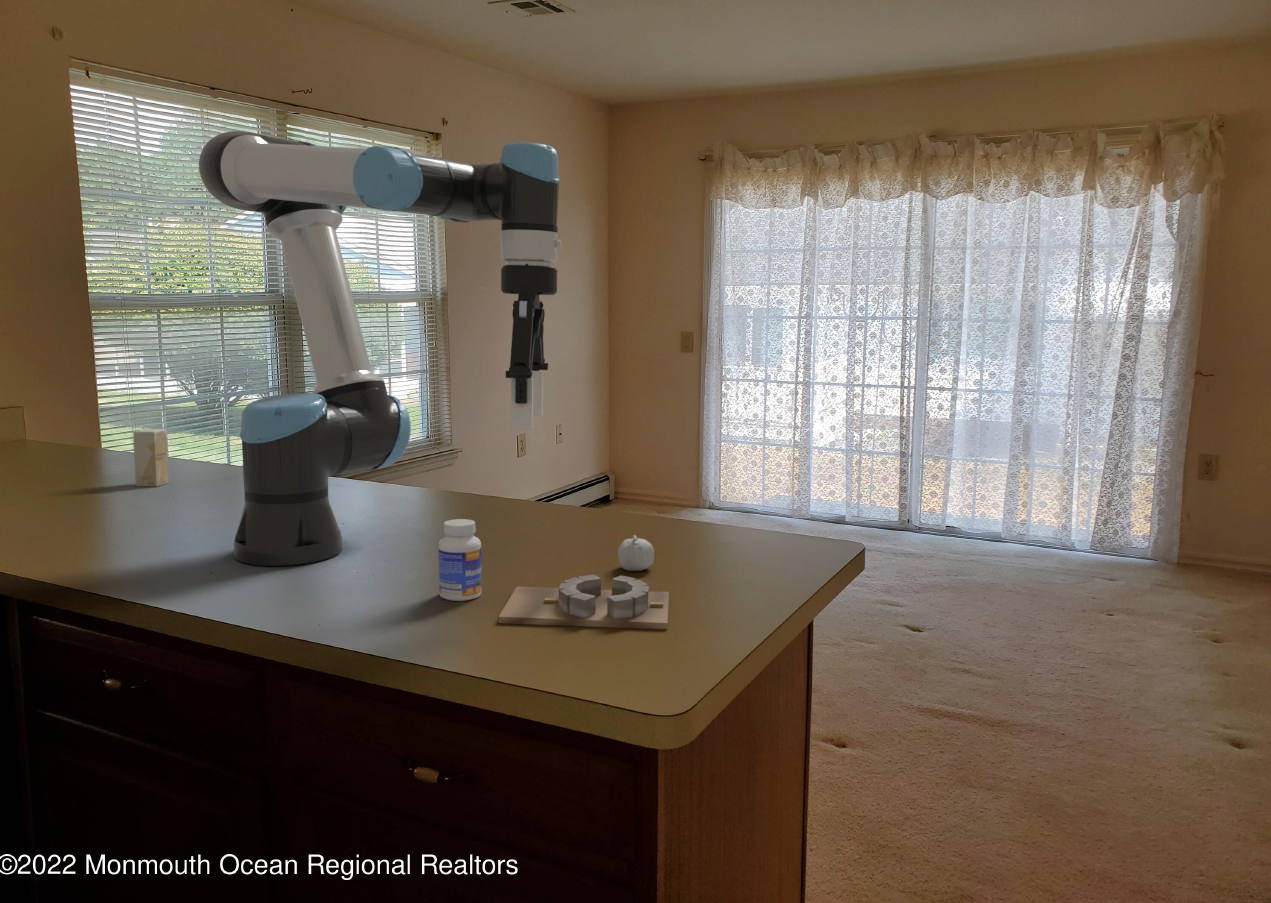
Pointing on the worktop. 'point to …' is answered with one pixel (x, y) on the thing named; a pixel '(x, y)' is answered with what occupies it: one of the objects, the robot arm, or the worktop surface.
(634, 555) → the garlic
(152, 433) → the box
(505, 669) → the worktop surface
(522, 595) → the socket board
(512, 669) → the worktop surface
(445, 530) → the pill bottle
